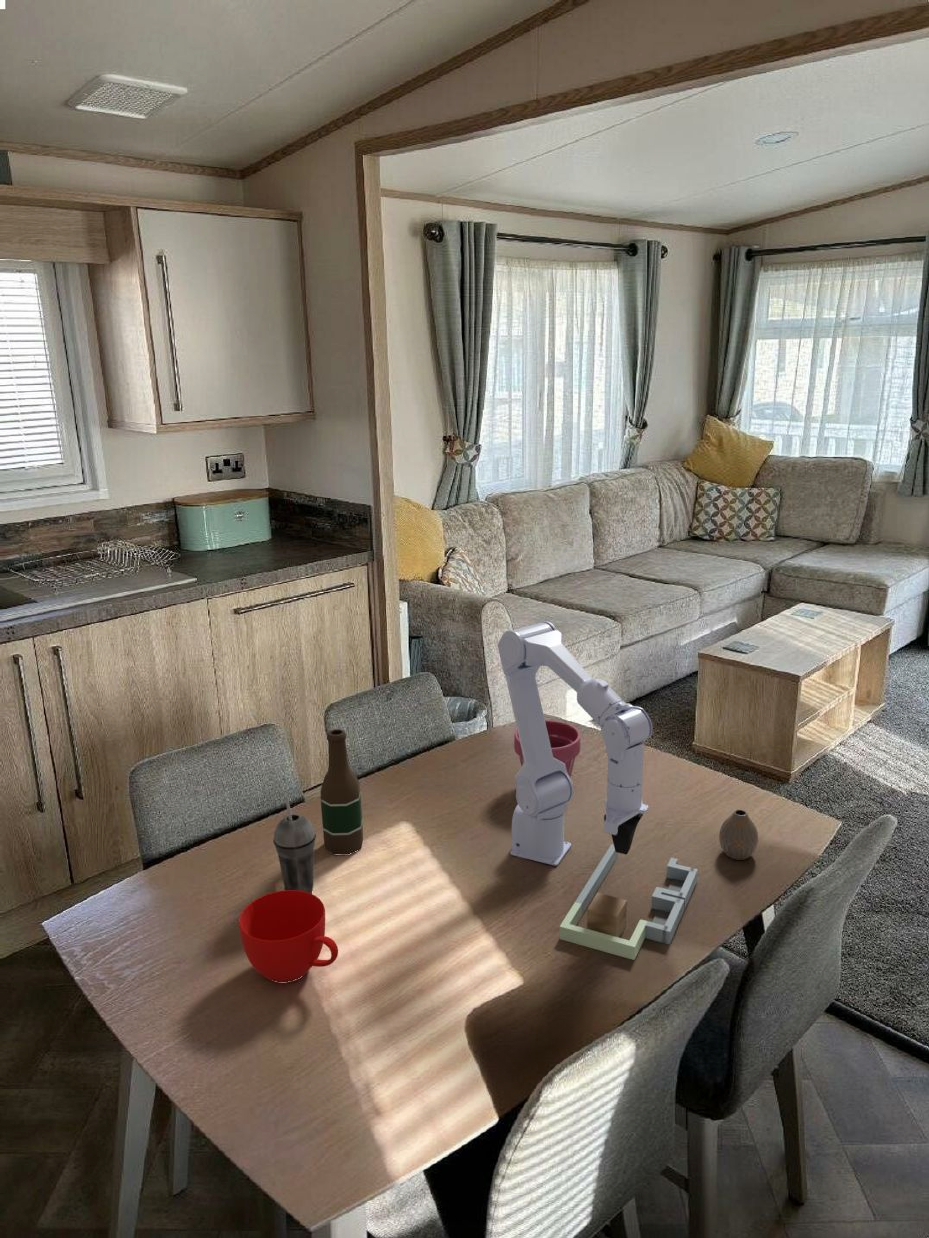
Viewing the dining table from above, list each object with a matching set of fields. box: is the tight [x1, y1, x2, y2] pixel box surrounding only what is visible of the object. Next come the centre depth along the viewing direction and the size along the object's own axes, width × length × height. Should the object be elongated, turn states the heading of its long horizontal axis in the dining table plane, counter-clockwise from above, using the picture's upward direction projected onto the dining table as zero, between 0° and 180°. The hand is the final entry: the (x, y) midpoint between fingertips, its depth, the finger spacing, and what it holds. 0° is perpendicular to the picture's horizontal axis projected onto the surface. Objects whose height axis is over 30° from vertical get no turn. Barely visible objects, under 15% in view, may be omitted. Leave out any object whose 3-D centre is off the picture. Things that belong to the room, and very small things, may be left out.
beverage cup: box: [272, 796, 317, 894], centre depth 156 cm, size 7×7×20 cm
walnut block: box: [586, 892, 628, 938], centre depth 147 cm, size 5×5×5 cm
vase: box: [718, 808, 759, 861], centre depth 167 cm, size 7×7×9 cm
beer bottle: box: [320, 728, 364, 855], centre depth 171 cm, size 8×8×24 cm
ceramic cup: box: [238, 889, 339, 982], centre depth 138 cm, size 13×17×10 cm
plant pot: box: [513, 719, 582, 778], centre depth 194 cm, size 14×14×13 cm
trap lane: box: [559, 843, 699, 961], centre depth 154 cm, size 16×27×2 cm, turn 153°
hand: (622, 851), depth 153 cm, fingers closed
